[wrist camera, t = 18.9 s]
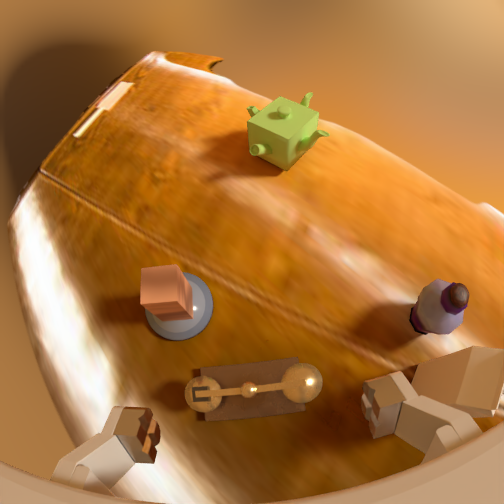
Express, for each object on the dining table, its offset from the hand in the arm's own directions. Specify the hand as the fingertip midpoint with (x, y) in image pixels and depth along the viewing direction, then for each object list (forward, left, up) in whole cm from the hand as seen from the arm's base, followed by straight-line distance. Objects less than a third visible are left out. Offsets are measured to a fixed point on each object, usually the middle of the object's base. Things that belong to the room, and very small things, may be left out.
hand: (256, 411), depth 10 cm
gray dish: (+15, +12, -33) cm, 38 cm away
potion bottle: (+7, -27, -33) cm, 44 cm away
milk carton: (-5, -25, -33) cm, 42 cm away
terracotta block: (+15, +12, -32) cm, 37 cm away
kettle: (+45, -10, -33) cm, 57 cm away
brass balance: (+1, +2, -33) cm, 33 cm away
